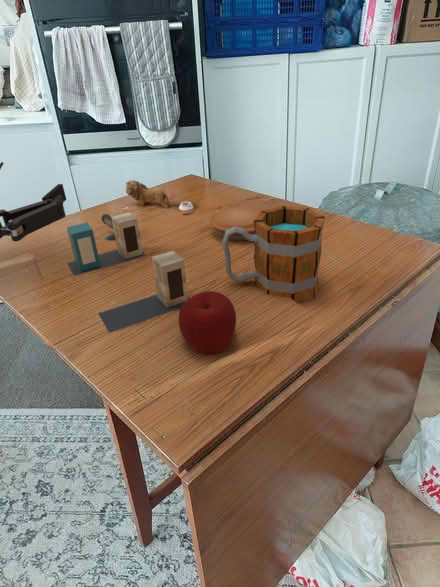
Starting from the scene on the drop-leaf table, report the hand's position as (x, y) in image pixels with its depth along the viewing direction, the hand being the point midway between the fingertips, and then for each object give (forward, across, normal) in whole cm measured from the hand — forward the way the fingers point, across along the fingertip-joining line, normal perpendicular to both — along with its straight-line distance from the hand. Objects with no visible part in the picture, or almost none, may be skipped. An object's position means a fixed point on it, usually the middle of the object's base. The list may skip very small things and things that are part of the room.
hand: (23, 192), depth 73 cm
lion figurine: (+51, +8, -24) cm, 57 cm away
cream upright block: (+1, +23, -22) cm, 32 cm away
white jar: (+49, +19, -24) cm, 58 cm away
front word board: (-2, +19, -24) cm, 30 cm away
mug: (+8, +43, -24) cm, 50 cm away
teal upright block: (+15, +1, -22) cm, 27 cm away
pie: (+35, +35, -24) cm, 55 cm away
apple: (-12, +32, -24) cm, 41 cm away
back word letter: (+21, +10, -22) cm, 32 cm away
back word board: (+18, +5, -24) cm, 30 cm away
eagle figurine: (+31, +3, -24) cm, 39 cm away
